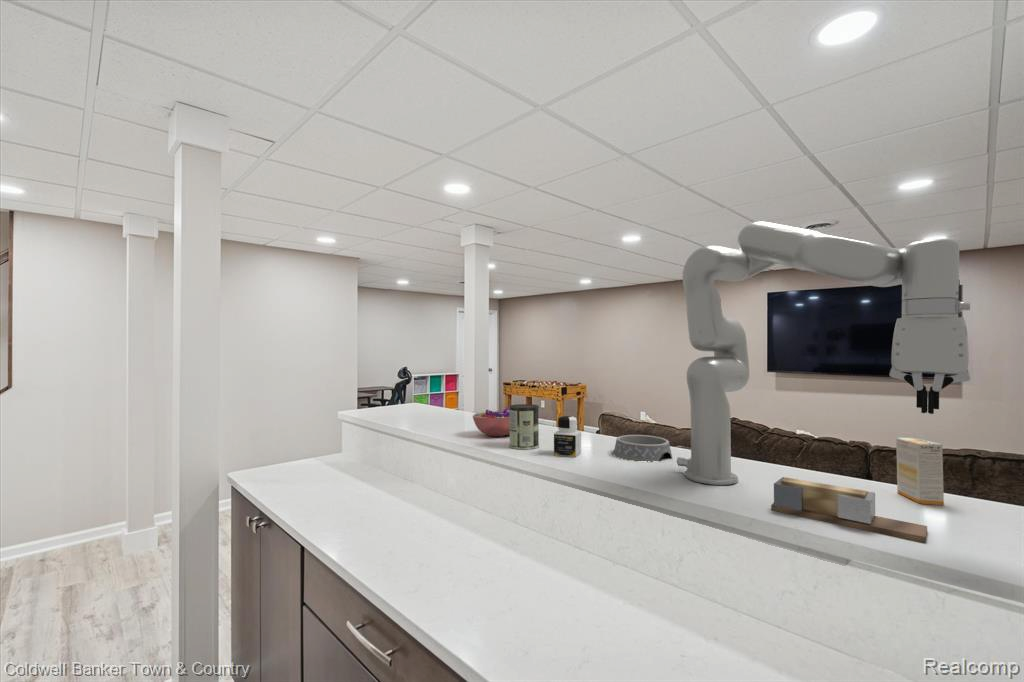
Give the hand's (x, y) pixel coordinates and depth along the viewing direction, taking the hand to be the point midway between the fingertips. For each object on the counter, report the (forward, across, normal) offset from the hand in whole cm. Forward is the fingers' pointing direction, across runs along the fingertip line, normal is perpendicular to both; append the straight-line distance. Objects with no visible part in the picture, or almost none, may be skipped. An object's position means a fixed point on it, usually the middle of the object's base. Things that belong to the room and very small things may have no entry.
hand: (927, 412), depth 83 cm
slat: (+22, +15, 0) cm, 27 cm away
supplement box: (+23, +2, -27) cm, 35 cm away
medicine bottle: (+25, +86, -8) cm, 90 cm away
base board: (+22, +12, 0) cm, 25 cm away
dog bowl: (+25, +68, -24) cm, 76 cm away
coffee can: (+25, +104, -7) cm, 107 cm away
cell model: (+26, +125, -15) cm, 128 cm away
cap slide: (+21, +10, 0) cm, 23 cm away
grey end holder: (+22, +21, 0) cm, 30 cm away
